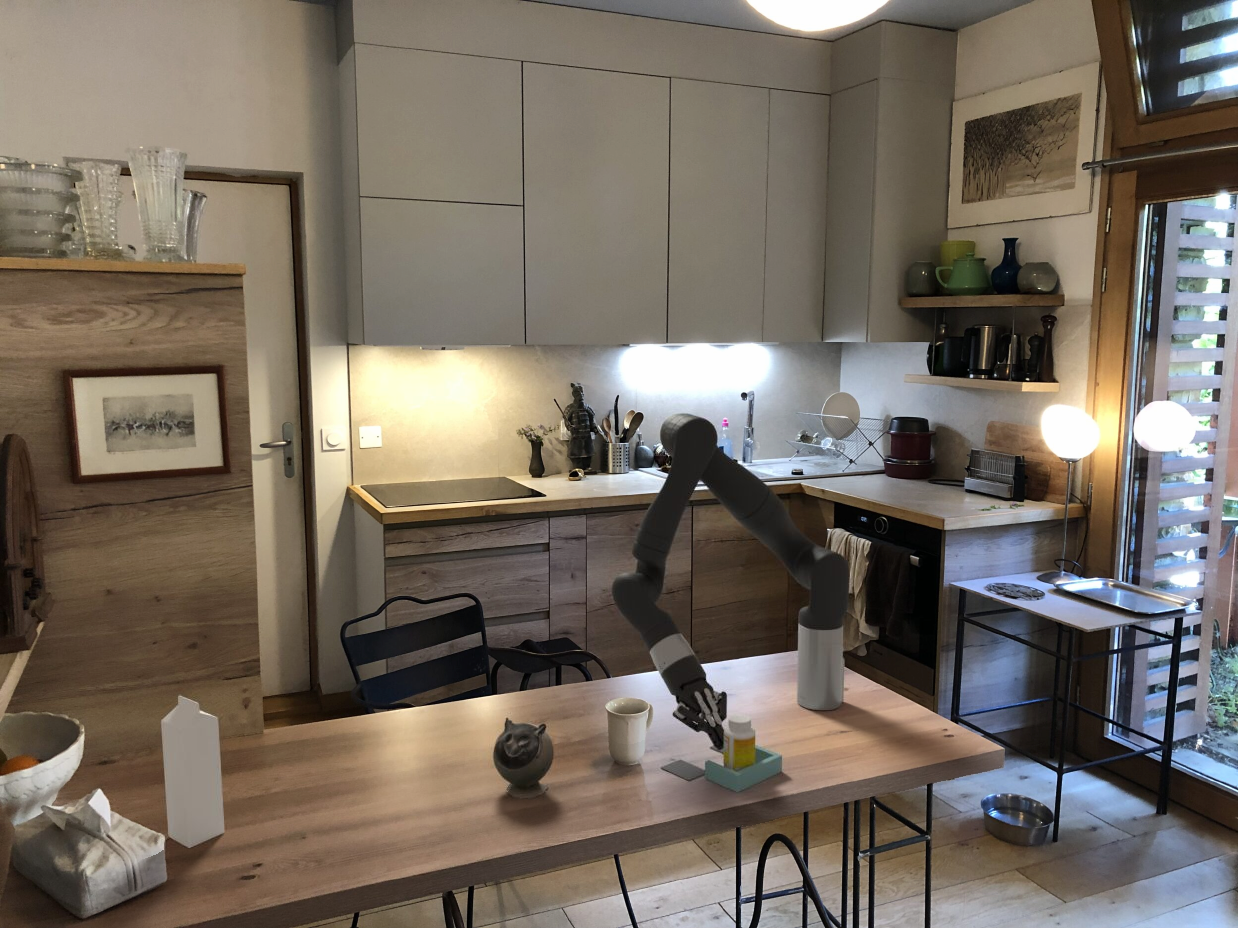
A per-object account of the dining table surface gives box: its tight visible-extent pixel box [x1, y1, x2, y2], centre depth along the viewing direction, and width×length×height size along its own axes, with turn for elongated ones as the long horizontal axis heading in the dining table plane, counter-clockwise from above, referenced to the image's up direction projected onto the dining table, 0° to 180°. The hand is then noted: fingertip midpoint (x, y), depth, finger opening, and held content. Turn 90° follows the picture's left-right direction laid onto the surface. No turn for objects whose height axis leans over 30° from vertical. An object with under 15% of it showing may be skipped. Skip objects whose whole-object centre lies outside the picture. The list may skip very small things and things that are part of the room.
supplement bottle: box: [723, 713, 756, 772], centre depth 171 cm, size 6×6×10 cm
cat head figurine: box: [492, 717, 555, 799], centre depth 165 cm, size 10×12×10 cm
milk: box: [160, 695, 225, 849], centre depth 150 cm, size 6×6×22 cm
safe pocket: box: [704, 744, 783, 793], centre depth 171 cm, size 12×8×3 cm, turn 132°
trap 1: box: [660, 758, 705, 782], centre depth 173 cm, size 5×7×1 cm
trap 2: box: [709, 745, 724, 755], centre depth 182 cm, size 5×7×1 cm
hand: (724, 747), depth 174 cm, fingers closed
